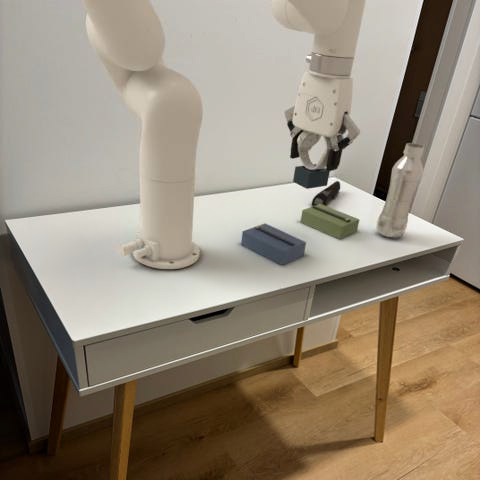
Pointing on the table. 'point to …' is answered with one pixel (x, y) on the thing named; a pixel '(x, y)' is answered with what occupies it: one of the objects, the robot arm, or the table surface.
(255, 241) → the blue slotted block
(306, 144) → the watch
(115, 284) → the table surface
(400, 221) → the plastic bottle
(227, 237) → the table surface
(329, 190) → the electric trimmer
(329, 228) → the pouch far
